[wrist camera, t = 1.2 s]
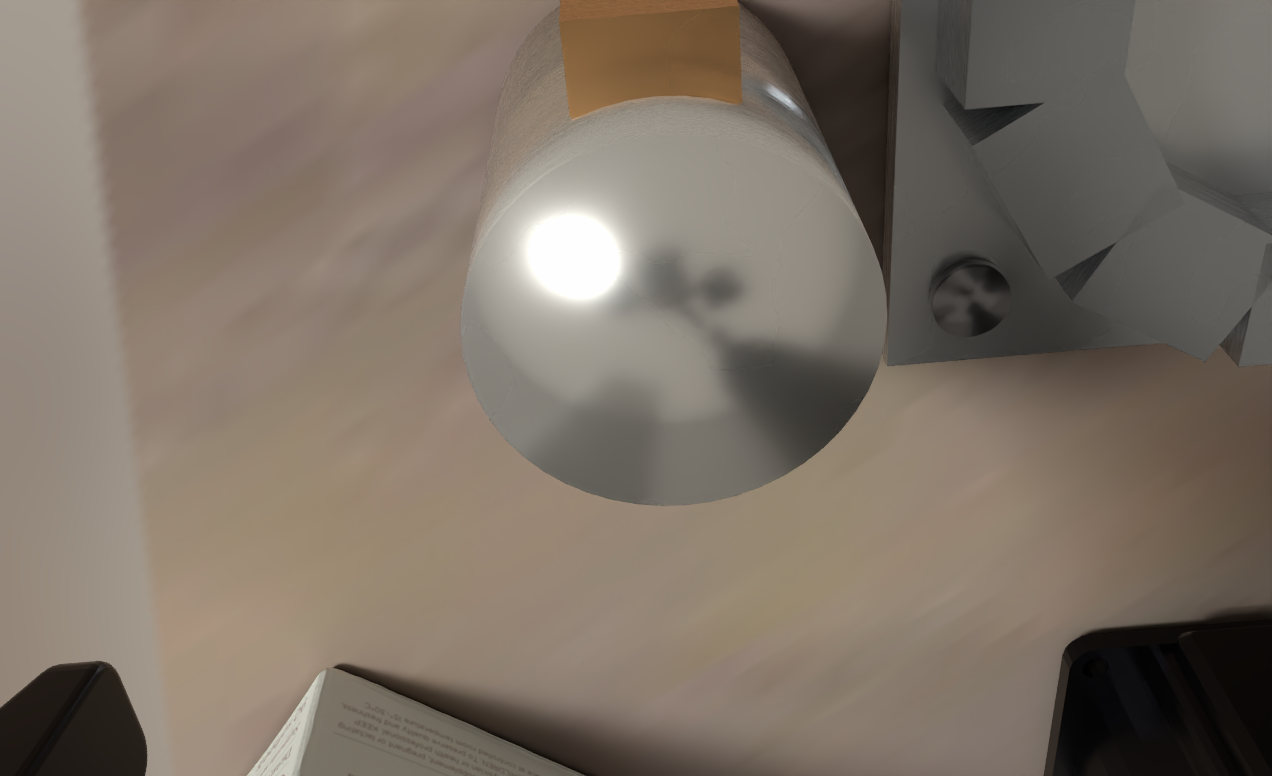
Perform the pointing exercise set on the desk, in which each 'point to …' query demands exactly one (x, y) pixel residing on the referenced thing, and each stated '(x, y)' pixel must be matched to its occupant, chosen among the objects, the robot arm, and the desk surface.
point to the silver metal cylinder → (666, 258)
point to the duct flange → (1078, 178)
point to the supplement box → (387, 738)
